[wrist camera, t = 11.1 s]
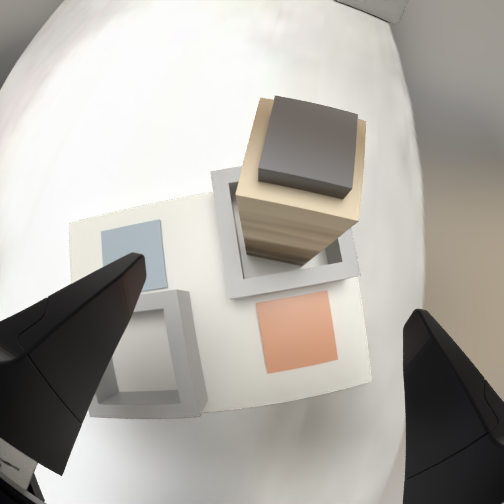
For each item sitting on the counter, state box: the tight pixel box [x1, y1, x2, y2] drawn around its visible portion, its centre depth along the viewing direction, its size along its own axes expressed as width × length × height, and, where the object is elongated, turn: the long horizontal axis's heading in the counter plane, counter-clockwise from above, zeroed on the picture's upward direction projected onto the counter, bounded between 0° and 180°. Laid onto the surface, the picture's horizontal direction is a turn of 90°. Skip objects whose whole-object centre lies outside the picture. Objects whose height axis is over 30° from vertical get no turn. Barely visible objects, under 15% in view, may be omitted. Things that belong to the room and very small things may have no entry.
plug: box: [236, 96, 366, 266], centre depth 15 cm, size 4×4×13 cm
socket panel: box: [69, 166, 372, 419], centre depth 19 cm, size 16×22×4 cm
